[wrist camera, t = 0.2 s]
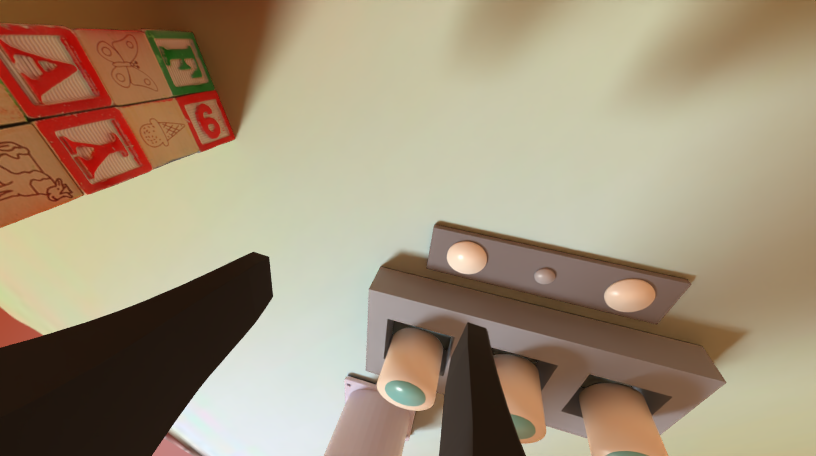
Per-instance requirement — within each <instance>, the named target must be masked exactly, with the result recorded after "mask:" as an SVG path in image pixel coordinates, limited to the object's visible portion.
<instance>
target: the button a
mask: <svg viewBox="0 0 816 456" xmlns="http://www.w3.org/2000/svg"><path fill="white" fill-rule="evenodd" d="M442 355H443V346H442V344H441V342H440V341H439V339H438V338H437V337H435V336H434V335H433V334H431V333H429V332H427V331H425V330H422V329H419V328H403V329H400V330H398V331H397V332H396V333H395V334H394V336H393V338H392V341H391V344H390V347H389V350H388V353H387V356H386V358H385V361H384V364H383V367H382V370H381V373H380V376H379V379H378V381H377V389H378V391H379V393H380V394H381V396H382V397H383V398H385V399H386V400H387V401H388V402H390V403H392V404H394V405H395V406H398V407H400V408H403V409H407V410H413V411H421V410H426V409H429V408H431V407H432V406H433V404H434V402H435V396H436V390H437V384H438V379H439V373H440V367H441V361H442Z"/></svg>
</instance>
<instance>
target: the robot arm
mask: <svg viewBox="0 0 816 456" xmlns="http://www.w3.org/2000/svg"><path fill="white" fill-rule="evenodd" d="M272 297H273V291H272V282H271V272H270V262H269V257H268V256H265V255H261V254H258V253H255V252H252V253H250V254H248V255H245V256H243V257H241V258H239V259H237V260H235V261H233V262H230V263H228V264H226V265H224V266H222V267H220V268H218V269H216V270H214V271H212V272H209V273H207V274H205V275H203V276H201V277H199V278H196V279H194V280H192V281H190V282H188V283H186V284H183V285H181V286H179V287H176V288H174V289H172V290H169V291H167V292H165V293H162V294H160V295H158V296H155V297H153V298H150V299H148V300H146V301H143V302H141V303H138V304H136V305H133V306H131V307H128V308H125V309H123V310H120V311H117V312H114V313H112V314H109V315H106V316H103V317H100V318H98V319H95V320H92V321H89V322H86V323H83V324H79V325H76V326H73V327H70V328H66V329H63V330H60V331H57V332H54V333H50V334H47V335H44V336H41V337H38V338H34V339H30V340H27V341H23V342H20V343H16V344H12V345H9V346H5V347H2V348H0V456H152V454H153V453H154V452H155V450H156V449H157V447H158V446H159V444H160V443H161V441H162V440H163V438H164V437H165V436H166V434H167V433H168V431H169V430H170V428H171V427H172V425H173V424H174V423H175V421H176V420H177V418H178V417H179V416H180V414H181V413H182V411H183V410H184V409H185V407H186V406H187V404H188V403H189V402H190V400H191V399H192V398H193V396H194V395H195V393H196V392H197V391H198V389H199V388H200V387H201V386H202V384H203V383H204V382H205V381H206V380H207V378H208V377H209V376H210V375H211V374H212V372H213V371H214V370H215V369H216V368H217V367H218V366H219V364H220V363H221V362H222V361H223V360H224V359H225V357H226V356H227V355H228V354H229V353H230V352H231V351H232V349H233V348H234V347H235V346H236V345H237V344H238V342H239V341H240V340H241V339H242V338H243V337H244V335H245V334H246V333H247V332H248V331H249V330H250V328H251V327H252V326H253V325H254V324H255V322H256V321H257V320H258V318H259V317H260V316H261V314H262V313H263V311H264V310H265V308H266V307H267V305H268V304H269V302H270V300H271V299H272ZM344 382H345V406H344V408H343V411H342V413H341V416H340V418H339V420H338V423H337V425H336V428H335V430H334V432H333V435H332V437H331V440H330V442H329V445H328V447H327V449H326V452H325V454H324V456H402V451H403V447H404V443H405V441H408V440H409V437H410V433H411V429H412V424H413V420H414V416H415V411H413V410H407V409H403V408H400V407H398V406H395V405H394V404H392V403H390V402H388V401H387V400H386V399H385V398H383V397H382V396H381V394H380V393H379V391H378V389H377V385H376V384H372V383H369V382H366V381H363V380H360V379H356V378H353V377H350V376H347V377H346V378H345V381H344ZM439 456H526V455H525V453H524V450H523V447H522V445H521V442H520V439H519V437H518V434H517V431H516V428H515V426H514V423H513V420H512V417H511V414H510V411H509V408H508V405H507V402H506V399H505V396H504V392H503V389H502V386H501V383H500V379H499V376H498V372H497V369H496V365H495V361H494V357H493V353H492V349H491V344H490V340H489V335H488V331H487V329H486V328H484V327H481V326H478V325H475V324H472V323H469V322H467V324H466V326H465V329H464V331H463V333H462V335H461V337H460V339H459V341H458V344H457V346H456V348H455V350H454V352H453V354H452V356H451V360H450V365H449V370H448V376H447V381H446V386H445V395H444V406H443V417H442V429H441V440H440V452H439Z"/></svg>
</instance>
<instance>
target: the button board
mask: <svg viewBox="0 0 816 456" xmlns="http://www.w3.org/2000/svg"><path fill="white" fill-rule="evenodd" d="M394 321H398V322H401V323H405V324H408V325H412V326H416V327H419V328H423V329H427V330H430V331H434V332H438V333H441V334H445V335H449V336H451V340H450V343H449V347H448V350H446V349H443V355H442V361H441V367H440V373H439V379H438V384H437V390H436V392H437V393H440V394H443V395H445V386H446V381H447V376H448V370H449V365H450V360H451V356H452V354H453V352H454V350H455V348H456V346H457V344H458V341H459V339H460V337H461V335H462V333H463V331H464V329H465V326H466V324H467V322H469V323H472V324H475V325H478V326H481V327H484V328H486V329H487V331H488V335H489V340H490V344H491V347H492V348H496V349H500V350H503V351H507V352H511V353H514V354H518V355H522V356H525V357H529V358H533V359H536V360H538V361H537V363H536V365H535V366H536V367H537V369H538V371H539V378H540V386H541V394H542V402H543V410H544V417H545V425H546V426H548V427H552V428H555V429H558V430H562V431H565V432H568V433H571V434H575V435H578V436H581V437H584V438H587V433H586V429H585V424H584V420H583V416H582V411H581V407H580V402H579V394H580V393H581V391H582V390H583V389H585V388H581V387H580V386H581V385H582V384H583V382H584V381H585V380H586V378H587V377H588V376H589V375H590V374H591V375H595V376H598V377H602V378H606V379H609V380H613V381H617V382H620V383H624V384H628V385H631V386H632V388H634V389H636V390H637V391H639V392H640V393H641V394H642V395H643V396H644V398H645V400H646V403H647V405H648V408H649V410H650V413H651V415H652V418H653V420H654V422H655V425H656V427H657V430H658V432H659V435H661V434H662V433H663V432H665V431H666V430H667V429H668V428H670V427H671V426H672V425H673V424H675V423H676V422H677V421H678V420H680V419H681V418H682V417H684V416H685V415H686V414H687V413H689V412H690V411H691V410H692V409H694V408H695V407H696V406H697V405H699V404H700V403H701V402H702V401H704V400H705V399H706V398H708V397H709V396H710V395H711V394H713V393H714V392H715V391H716V390H718V389H719V388H720V387H721V386H723V385H724V384H725V383H726V381H725V380H724V378H723V377H722V375H721V374H720V372H719V371H718V369H717V368H716V366H715V365H714V363H713V362H712V360H711V359H710V357H709V356H708V354H707V353H706V351H705V350H704V348H703V347H702V346H699V345H695V344H691V343H687V342H683V341H679V340H675V339H671V338H667V337H663V336H659V335H655V334H651V333H646V332H642V331H638V330H634V329H630V328H626V327H622V326H618V325H614V324H610V323H606V322H602V321H598V320H594V319H590V318H586V317H582V316H578V315H574V314H570V313H566V312H562V311H558V310H554V309H550V308H545V307H541V306H537V305H533V304H529V303H525V302H521V301H517V300H513V299H509V298H505V297H501V296H497V295H493V294H489V293H485V292H481V291H477V290H473V289H469V288H465V287H461V286H457V285H453V284H448V283H444V282H440V281H436V280H432V279H428V278H424V277H420V276H416V275H412V274H408V273H404V272H400V271H396V270H392V269H388V268H384V267H380V269H379V271H378V272H377V274H376V276H375V278H374V280H373V282H372V284H371V286H370V288H369V301H368V327H367V353H366V371H368V372H371V373H375V374H378V375H380V373H381V370H382V367H383V364H384V361H385V358H386V356H387V353H388V350H389V347H390V344H391V341H392V338H393V336H394V335H393V334H392V333H393V324H394Z"/></svg>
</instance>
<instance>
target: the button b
mask: <svg viewBox="0 0 816 456" xmlns="http://www.w3.org/2000/svg"><path fill="white" fill-rule="evenodd" d="M493 357H494V361H495V365H496V369H497V372H498V376H499V379H500V383H501V386H502V389H503V392H504V396H505V399H506V402H507V405H508V408H509V411H510V414H511V417H512V420H513V423H514V426H515V428H516V431H517V434H518V437H519V439H520V442H521V443H533V442H536V441H539V440H541V439H542V438H543V437H544V436H545V434H546V425H545V417H544V410H543V402H542V394H541V386H540V378H539V371H538V369H537V367H536V366H535V365H534V364H533V363H532V362H531V361H529V360H527V359H525V358H523V357H520V356H517V355H512V354H498V355H493Z"/></svg>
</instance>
